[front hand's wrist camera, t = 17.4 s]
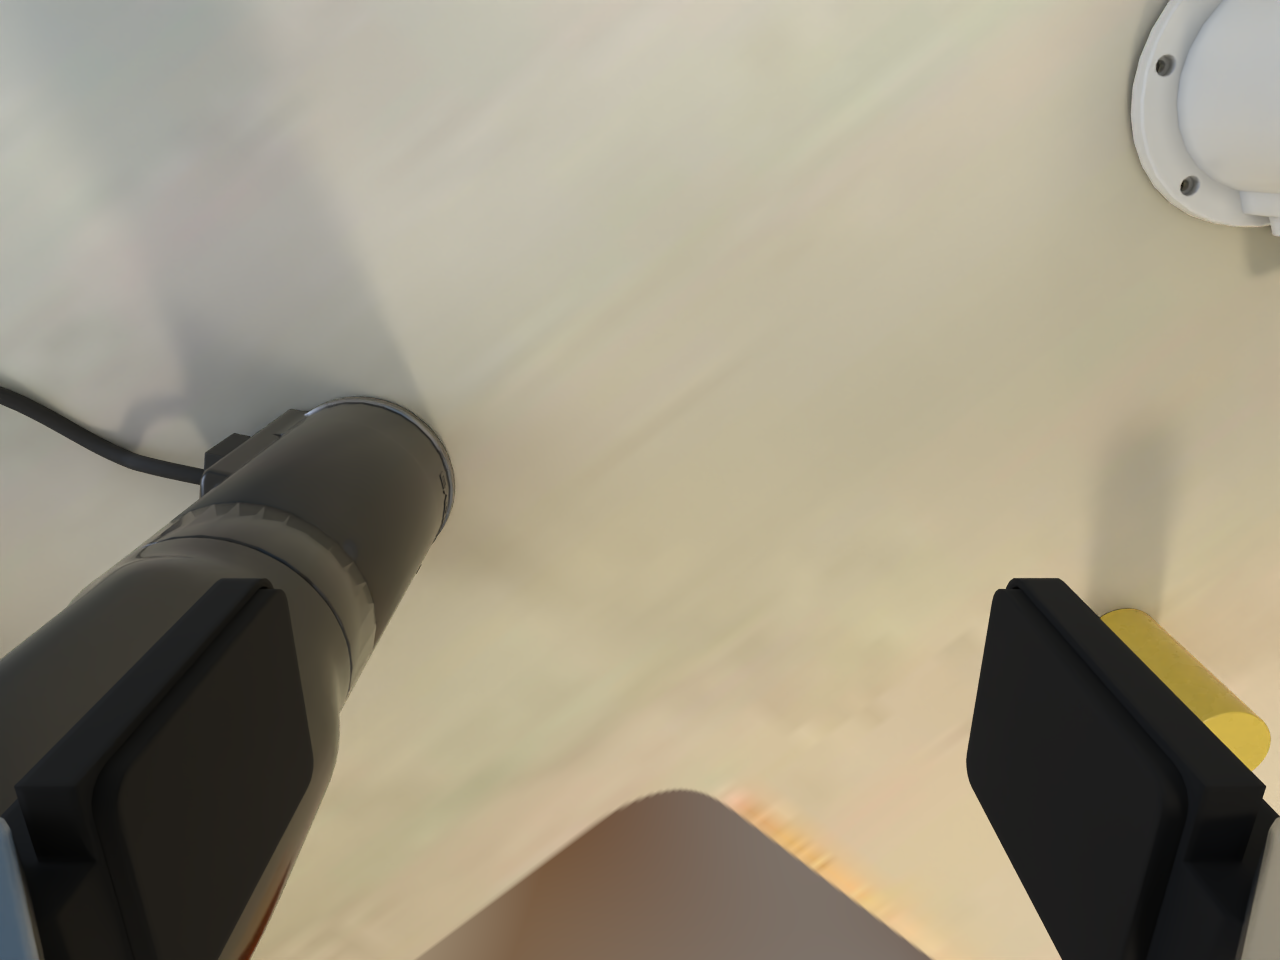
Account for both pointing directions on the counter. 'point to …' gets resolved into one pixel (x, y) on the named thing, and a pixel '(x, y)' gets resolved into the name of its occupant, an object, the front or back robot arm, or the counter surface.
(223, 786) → the front robot arm
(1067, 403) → the counter surface
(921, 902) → the counter surface
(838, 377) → the counter surface
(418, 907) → the counter surface
